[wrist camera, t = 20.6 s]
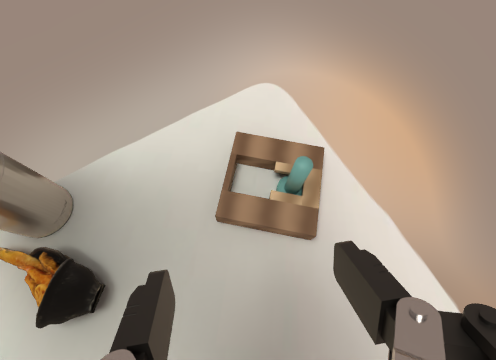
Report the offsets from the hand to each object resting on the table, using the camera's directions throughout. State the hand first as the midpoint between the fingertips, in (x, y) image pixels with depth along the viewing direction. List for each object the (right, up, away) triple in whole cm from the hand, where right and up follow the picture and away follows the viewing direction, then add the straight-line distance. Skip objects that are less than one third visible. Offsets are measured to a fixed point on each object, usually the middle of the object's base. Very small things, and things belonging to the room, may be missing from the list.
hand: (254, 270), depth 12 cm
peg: (+7, +2, +34) cm, 35 cm away
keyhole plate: (+4, +3, +35) cm, 35 cm away
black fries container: (-30, -11, +28) cm, 42 cm away
